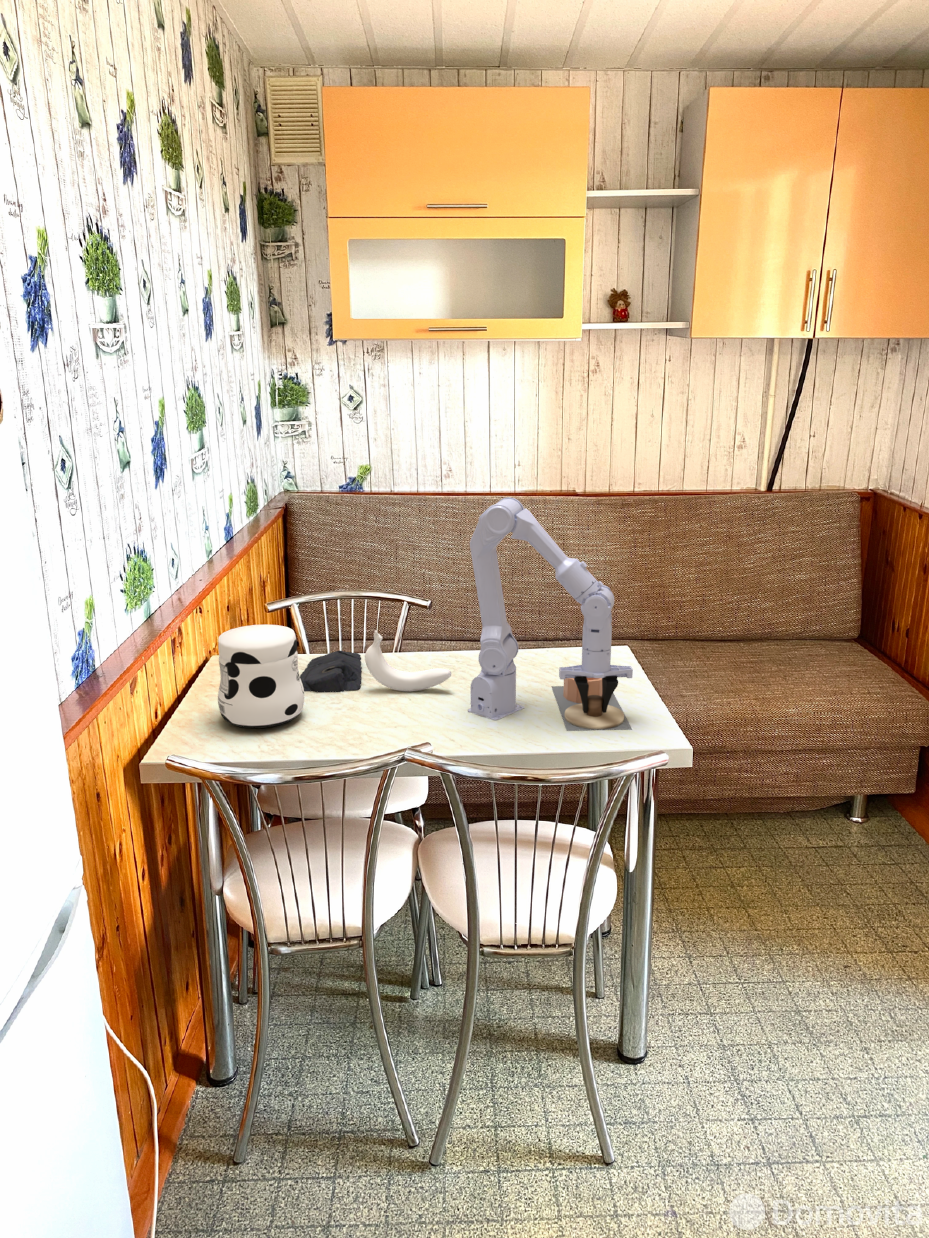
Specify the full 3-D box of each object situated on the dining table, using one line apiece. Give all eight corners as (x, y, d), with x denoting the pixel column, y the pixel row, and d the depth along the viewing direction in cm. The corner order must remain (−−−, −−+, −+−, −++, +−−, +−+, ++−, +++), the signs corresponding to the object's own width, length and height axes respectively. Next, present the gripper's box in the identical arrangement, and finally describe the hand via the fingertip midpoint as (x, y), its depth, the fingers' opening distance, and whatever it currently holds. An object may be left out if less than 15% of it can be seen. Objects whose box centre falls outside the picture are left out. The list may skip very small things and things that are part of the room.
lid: (601, 734, 181) (602, 713, 180) (552, 718, 189) (553, 698, 188) (635, 716, 189) (636, 696, 188) (587, 702, 197) (588, 683, 196)
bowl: (589, 706, 195) (590, 684, 193) (555, 696, 201) (555, 674, 199) (614, 695, 201) (614, 673, 200) (580, 685, 207) (580, 664, 206)
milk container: (320, 708, 196) (316, 627, 191) (277, 740, 181) (271, 652, 176) (249, 699, 202) (243, 619, 197) (202, 728, 186) (194, 643, 181)
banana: (451, 694, 203) (450, 631, 199) (365, 695, 203) (362, 631, 199) (452, 687, 208) (451, 624, 204) (367, 687, 208) (364, 625, 204)
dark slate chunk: (370, 662, 226) (369, 643, 225) (359, 694, 205) (358, 674, 204) (308, 662, 227) (307, 643, 225) (290, 695, 206) (289, 674, 204)
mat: (632, 731, 183) (632, 729, 183) (566, 732, 183) (566, 730, 183) (609, 686, 207) (609, 685, 207) (551, 687, 207) (551, 686, 207)
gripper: (562, 654, 181) (561, 719, 185) (637, 653, 181) (633, 717, 185) (558, 643, 187) (556, 705, 191) (629, 642, 188) (626, 704, 192)
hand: (594, 711), depth 189 cm, fingers closed on lid, 3 cm apart
